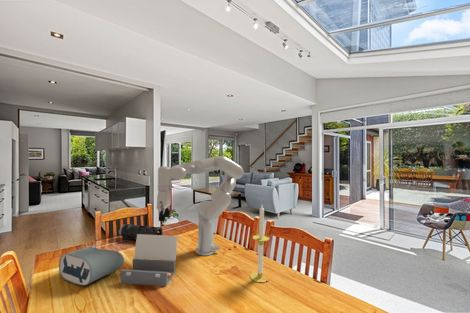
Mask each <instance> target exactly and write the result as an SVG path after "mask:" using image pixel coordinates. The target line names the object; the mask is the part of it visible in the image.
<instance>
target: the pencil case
mask: <svg viewBox="0 0 470 313" xmlns="http://www.w3.org/2000/svg"><path fill="white" fill-rule="evenodd" d="M58 263H59V264H58V272H59V274H60V276H61V277H62V278H63V280H65V281H67V282H70V283H72V284H75V285H77V286H78V285H79V286H82V287H83V286H87V285H89V284H91V283H93V282H95V281H97V280H99V279H101V278H103V277H104V276H107V275H109V274H112V273H113V272H116V271H118V270H120V268H122V267H123V265H124V264H125V257H124V255H123V254H122V253H121V252H119V251H117V250H113V249H112V250H111V249H100V248H97V247H96V245H93V244H92V245H91V246H90V245H89V246H86V247H83V248H79V249H75V250H74V251H70V252H67V253H65V254H63V255H61V257H60V259H59V262H58Z"/></svg>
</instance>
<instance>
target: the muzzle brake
mask: <svg viewBox="0 0 470 313" xmlns="http://www.w3.org/2000/svg"><path fill="white" fill-rule="evenodd" d="M118 234H119V236H120V237H122V238H123V239H129V240H130V241H131V240H133V241H134V240H136V239H137V234H143V235H163V228H162V227H159V226H150V225H149V226H148V225H139V224H133V223H125V224H122V225H121V226H120V227H119V231H118Z"/></svg>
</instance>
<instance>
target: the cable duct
mask: <svg viewBox="0 0 470 313" xmlns="http://www.w3.org/2000/svg"><path fill="white" fill-rule="evenodd" d="M175 273H176V260H175V261H171V260H153V259H135V258H133V259H132V269H123V268H122V269H121V270H120V284H125V285H140V286H141V285H144V286H145V285H146V286H160V287H161V286H162V287H167V286H168V284H169V282H170V281H171V280H172V278H173V276H174V275H175Z"/></svg>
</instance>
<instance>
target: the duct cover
mask: <svg viewBox="0 0 470 313" xmlns="http://www.w3.org/2000/svg"><path fill="white" fill-rule="evenodd" d="M178 238H179V237H178V235H163V234H162V235H143V234H137V239H135V240H136V241H135V247H134V255H133V259H149V260H167V261H175V262H176V259H177V250H178V249H177V248H178Z"/></svg>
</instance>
